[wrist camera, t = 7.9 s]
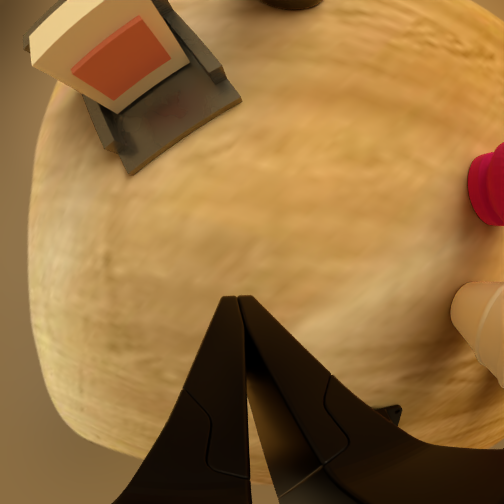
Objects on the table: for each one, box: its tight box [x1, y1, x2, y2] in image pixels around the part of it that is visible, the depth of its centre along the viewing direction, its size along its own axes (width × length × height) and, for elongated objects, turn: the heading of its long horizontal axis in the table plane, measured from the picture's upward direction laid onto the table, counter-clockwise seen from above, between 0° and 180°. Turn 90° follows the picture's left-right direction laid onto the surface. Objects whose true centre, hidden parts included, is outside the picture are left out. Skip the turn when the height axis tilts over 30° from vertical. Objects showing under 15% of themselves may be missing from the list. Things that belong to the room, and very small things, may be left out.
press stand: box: [23, 0, 242, 175], centre depth 13 cm, size 13×10×10 cm
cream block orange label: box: [29, 0, 190, 114], centre depth 12 cm, size 5×7×10 cm, turn 122°
